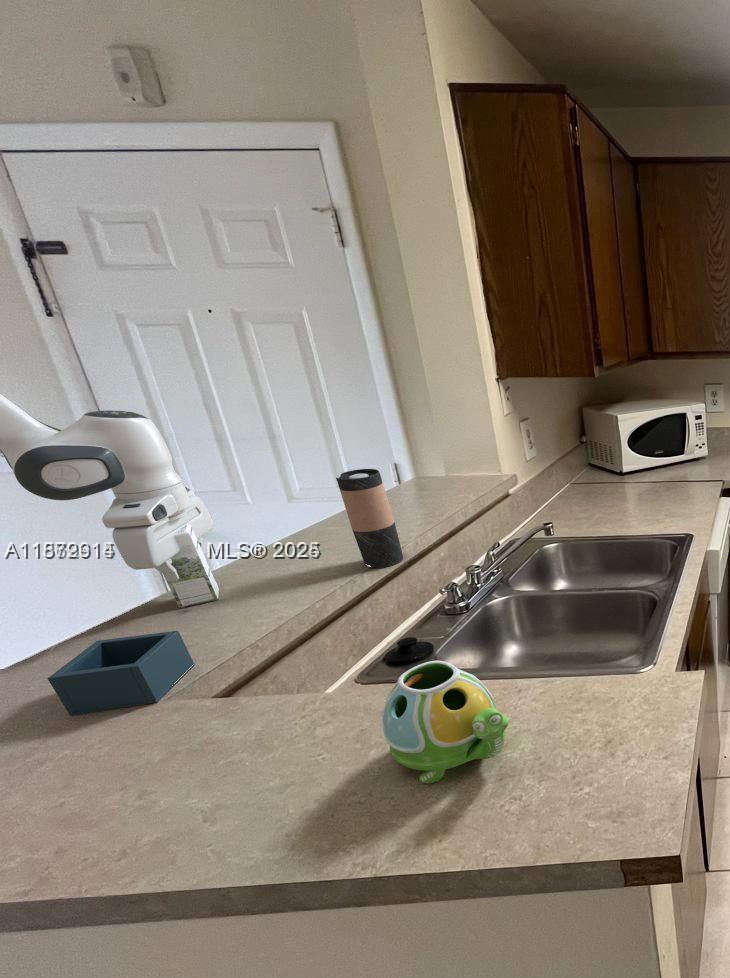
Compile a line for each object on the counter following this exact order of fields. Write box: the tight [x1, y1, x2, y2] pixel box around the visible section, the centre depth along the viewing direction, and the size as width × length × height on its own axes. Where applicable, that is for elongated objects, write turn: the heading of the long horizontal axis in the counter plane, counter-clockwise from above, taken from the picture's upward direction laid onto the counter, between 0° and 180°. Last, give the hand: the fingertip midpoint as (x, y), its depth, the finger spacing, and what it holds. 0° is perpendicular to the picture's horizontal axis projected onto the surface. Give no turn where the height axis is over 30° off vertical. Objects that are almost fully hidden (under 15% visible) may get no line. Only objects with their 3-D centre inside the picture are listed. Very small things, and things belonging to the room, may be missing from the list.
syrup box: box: [165, 524, 220, 609], centre depth 115 cm, size 6×6×14 cm
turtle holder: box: [381, 660, 509, 784], centre depth 78 cm, size 12×18×12 cm
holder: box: [46, 630, 195, 716], centre depth 91 cm, size 10×10×6 cm
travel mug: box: [335, 468, 404, 570], centre depth 129 cm, size 8×8×20 cm
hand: (187, 570), depth 115 cm, fingers closed on syrup box, 7 cm apart
